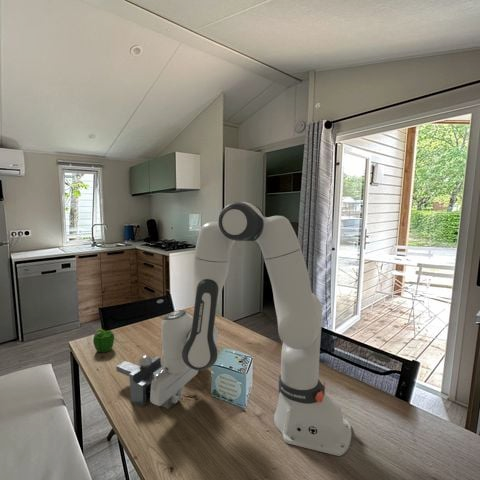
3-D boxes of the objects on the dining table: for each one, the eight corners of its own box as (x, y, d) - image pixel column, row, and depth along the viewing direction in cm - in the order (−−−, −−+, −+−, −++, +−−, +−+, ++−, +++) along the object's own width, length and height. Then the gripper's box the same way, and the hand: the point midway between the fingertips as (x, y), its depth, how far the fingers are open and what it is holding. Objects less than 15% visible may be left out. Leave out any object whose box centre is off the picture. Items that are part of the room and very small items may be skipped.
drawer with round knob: (169, 386, 105) (169, 351, 103) (143, 407, 94) (141, 369, 92) (134, 372, 113) (133, 339, 112) (106, 390, 102) (104, 355, 101)
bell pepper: (117, 345, 134) (116, 324, 133) (110, 354, 126) (109, 332, 125) (99, 345, 134) (98, 324, 133) (90, 354, 126) (89, 333, 125)
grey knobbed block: (179, 400, 98) (178, 386, 97) (167, 409, 93) (167, 394, 93) (162, 391, 102) (162, 378, 101) (151, 399, 98) (150, 385, 97)
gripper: (160, 381, 83) (161, 425, 85) (202, 349, 101) (202, 386, 102) (144, 374, 86) (145, 417, 87) (187, 345, 104) (188, 380, 105)
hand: (176, 400), depth 95 cm, fingers closed
